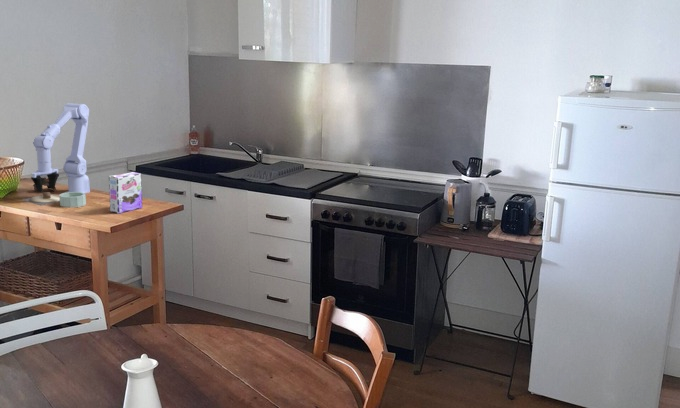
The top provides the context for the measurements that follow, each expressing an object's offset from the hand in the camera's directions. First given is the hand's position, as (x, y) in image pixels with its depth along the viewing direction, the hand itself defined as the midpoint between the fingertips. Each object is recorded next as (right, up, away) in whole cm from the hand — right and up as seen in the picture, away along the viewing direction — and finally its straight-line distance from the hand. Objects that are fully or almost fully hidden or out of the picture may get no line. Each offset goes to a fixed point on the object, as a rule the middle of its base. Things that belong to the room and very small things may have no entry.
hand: (46, 190), depth 297 cm
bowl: (+15, -7, -5) cm, 17 cm away
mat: (0, -5, +1) cm, 5 cm away
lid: (0, -4, +1) cm, 4 cm away
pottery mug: (-9, 0, +19) cm, 21 cm away
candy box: (+41, -9, -9) cm, 43 cm away
